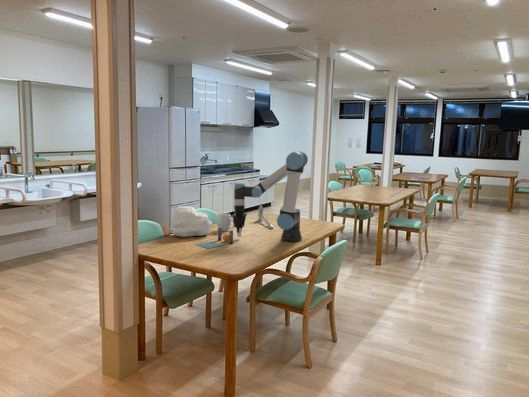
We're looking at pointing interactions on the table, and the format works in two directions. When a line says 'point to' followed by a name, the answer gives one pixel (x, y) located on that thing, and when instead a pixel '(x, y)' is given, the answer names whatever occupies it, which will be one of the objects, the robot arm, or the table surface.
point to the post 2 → (230, 237)
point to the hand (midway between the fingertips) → (239, 236)
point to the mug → (224, 221)
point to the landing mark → (209, 245)
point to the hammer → (260, 214)
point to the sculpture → (190, 222)
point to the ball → (226, 237)
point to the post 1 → (219, 234)
